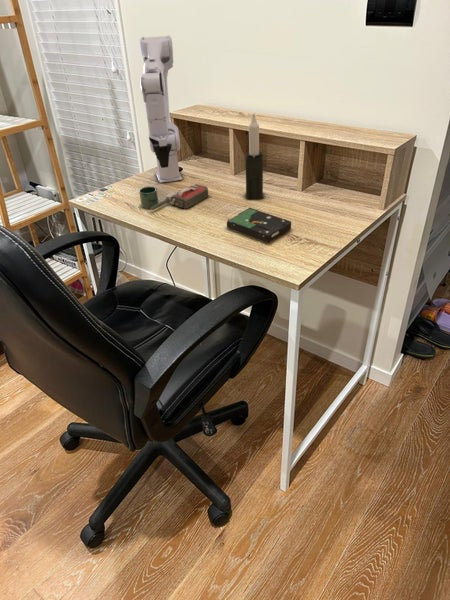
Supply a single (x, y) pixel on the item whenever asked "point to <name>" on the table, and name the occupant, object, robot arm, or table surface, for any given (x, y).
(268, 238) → the disk drive
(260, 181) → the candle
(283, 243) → the table surface
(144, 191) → the green cup
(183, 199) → the walkie-talkie
